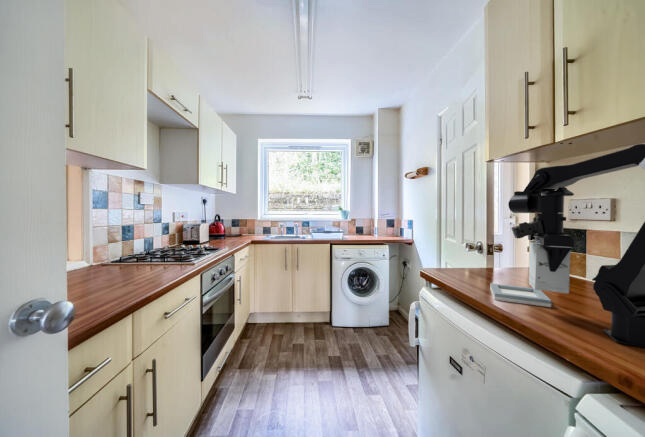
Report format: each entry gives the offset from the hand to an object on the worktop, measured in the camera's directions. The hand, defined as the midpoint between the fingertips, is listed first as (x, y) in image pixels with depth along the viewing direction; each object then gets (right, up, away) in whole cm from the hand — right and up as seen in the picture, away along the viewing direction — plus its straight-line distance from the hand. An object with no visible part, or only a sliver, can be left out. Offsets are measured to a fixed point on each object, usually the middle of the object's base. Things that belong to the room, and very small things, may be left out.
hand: (548, 268), depth 73 cm
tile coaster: (+1, -12, +13) cm, 18 cm away
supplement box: (0, -6, 0) cm, 6 cm away
